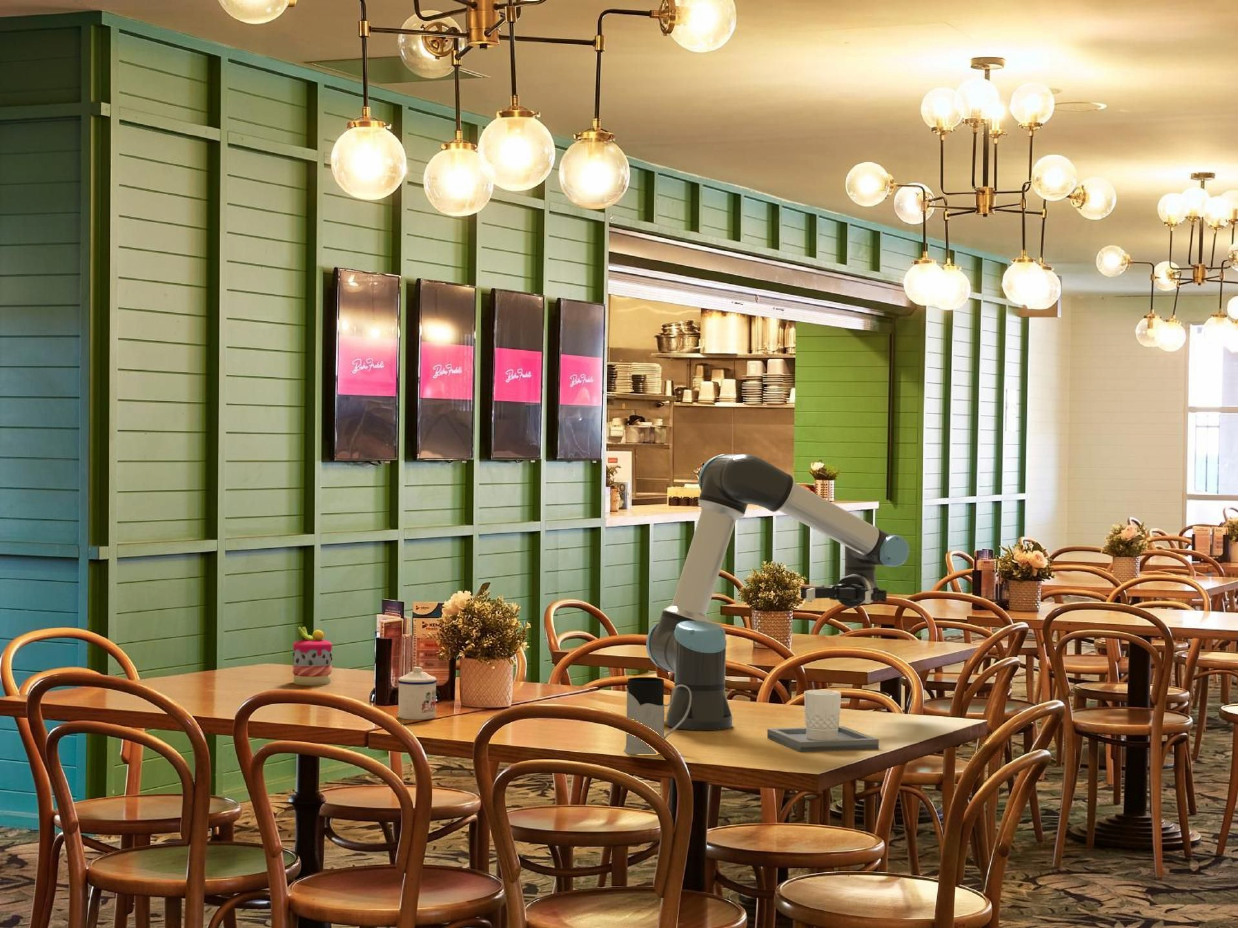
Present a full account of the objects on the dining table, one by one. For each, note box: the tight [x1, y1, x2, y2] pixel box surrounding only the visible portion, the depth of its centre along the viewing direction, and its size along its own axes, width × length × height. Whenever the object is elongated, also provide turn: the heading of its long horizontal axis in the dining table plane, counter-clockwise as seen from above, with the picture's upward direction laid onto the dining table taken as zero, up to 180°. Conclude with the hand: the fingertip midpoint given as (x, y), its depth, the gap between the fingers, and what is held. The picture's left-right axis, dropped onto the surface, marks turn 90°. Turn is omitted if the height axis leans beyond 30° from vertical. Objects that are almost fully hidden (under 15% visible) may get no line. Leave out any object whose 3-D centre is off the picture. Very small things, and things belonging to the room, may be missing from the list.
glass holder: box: [623, 676, 692, 755], centre depth 330 cm, size 9×14×15 cm, turn 103°
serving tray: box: [766, 725, 880, 753], centre depth 343 cm, size 18×18×2 cm
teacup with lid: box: [397, 666, 438, 721], centre depth 373 cm, size 12×9×12 cm
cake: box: [292, 626, 333, 686], centre depth 429 cm, size 10×11×15 cm
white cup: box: [803, 689, 842, 740], centre depth 343 cm, size 8×8×10 cm
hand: (837, 596), depth 365 cm, fingers open, 13 cm apart
